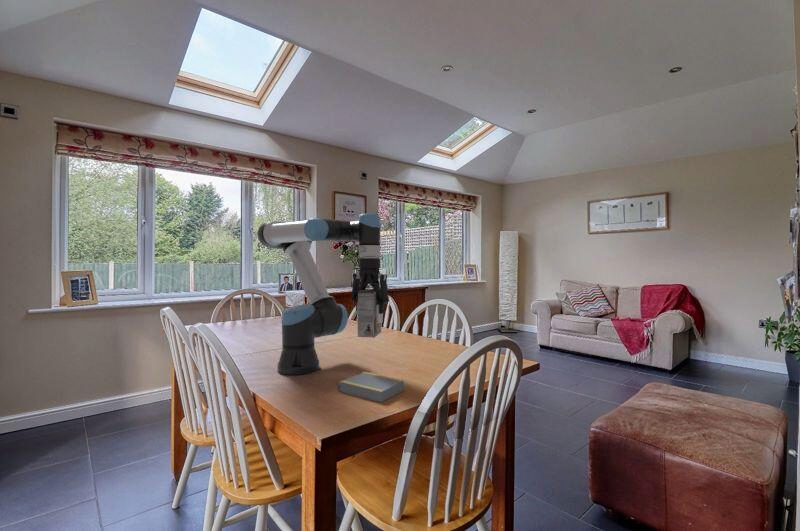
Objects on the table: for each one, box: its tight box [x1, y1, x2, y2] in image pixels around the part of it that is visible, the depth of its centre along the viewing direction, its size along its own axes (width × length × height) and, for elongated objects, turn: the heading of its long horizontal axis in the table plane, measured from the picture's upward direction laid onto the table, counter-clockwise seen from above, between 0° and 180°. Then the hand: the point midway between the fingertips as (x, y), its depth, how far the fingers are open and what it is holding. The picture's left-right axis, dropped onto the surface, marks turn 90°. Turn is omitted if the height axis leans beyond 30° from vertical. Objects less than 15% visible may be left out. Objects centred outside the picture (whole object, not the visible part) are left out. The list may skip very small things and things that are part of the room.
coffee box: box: [357, 288, 382, 339], centre depth 136 cm, size 9×6×16 cm
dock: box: [337, 371, 405, 403], centre depth 120 cm, size 17×12×3 cm
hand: (369, 321), depth 136 cm, fingers closed on coffee box, 8 cm apart
